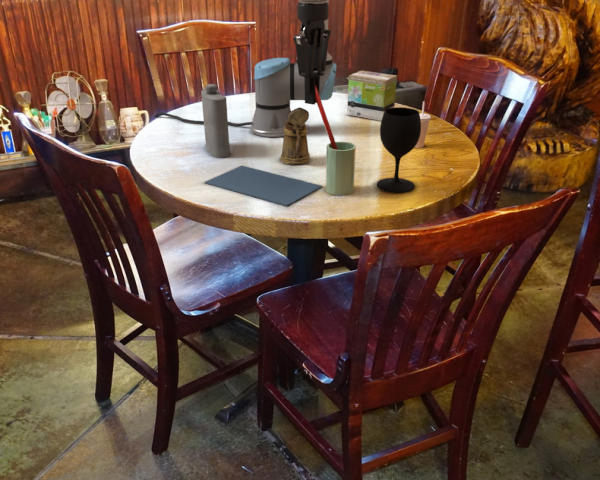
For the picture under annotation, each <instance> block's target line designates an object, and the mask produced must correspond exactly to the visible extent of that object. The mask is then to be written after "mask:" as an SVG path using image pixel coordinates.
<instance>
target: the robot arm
mask: <svg viewBox="0 0 600 480" xmlns="http://www.w3.org/2000/svg"><path fill="white" fill-rule="evenodd" d="M329 2H330V0H298V3H297V4H296V18H297V20H299V21H300V27H299V33H298V35H297V34H294V35H293V42H294V46H295V52H296V61H295V62H292V63H291V60H290V58H289V57H273V58H268V59H264V60H260V61H259V62H257V63H256V64H255V66H254V77H253V80H254V96H255V97H254V99H255V100H254V101H255V109H254V114H253V117H252V120H251V121H248V122H247V121H246V122H241V123H236V122H232V121H228V126H232V127H244V126H250V131H251V133H252V134H253V135H256V136H259V137H265V138H279V137H280V138H281V137H284V127H285V123H286V122H287V121H288V114H289V113H290V112H291V111H292V110H291V101H304V104H307V105H316V104H317V102H316V99H315V85H316V87H317V90H318V93H319V96H320V99H321V101H328V100H331V98H332V96H333V93H334V89H335V84H336V83H335V82H336V75H337V74H336V73H337V63H335V62H333V56H331V54H330V53H329V51H328V50H329V40H330V37H331V34H332V31H331V29H329V15H330V13H329V12H330V11H329V9H330V8H329V7H330V3H329ZM160 116H165V117H168V118H172V119H176V120H178V121H181V122H184V123H189V124H196V125H197V124H198V125H199V124H200V125H204V120H193V119H187V118H183V117H181V116H178V115H174V114H171V113H168V112H158V113H156V114H155V115H154V118H159V117H160Z"/></svg>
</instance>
